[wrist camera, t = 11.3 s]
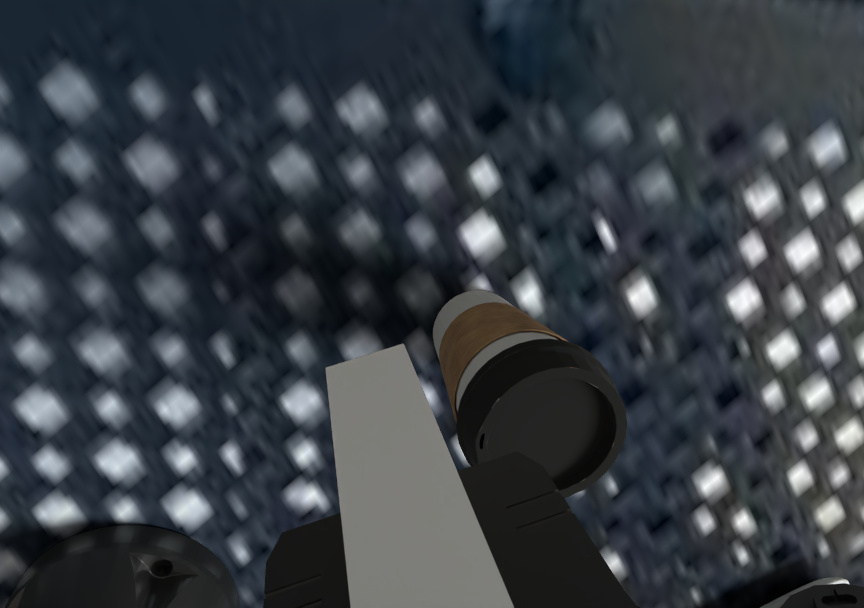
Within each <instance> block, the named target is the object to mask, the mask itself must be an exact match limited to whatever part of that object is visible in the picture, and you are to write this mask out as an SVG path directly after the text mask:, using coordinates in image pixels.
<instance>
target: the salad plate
mask: <svg viewBox="0 0 864 608" xmlns="http://www.w3.org/2000/svg"><path fill="white" fill-rule="evenodd" d="M842 583H846V584H849V582H848V581H847V580H846V579H843V578H823V579H819V580H816V581H813V582H811V583H809V584H806V585H804V586H802V587H800V588H798V589H795V590H793V591H791V592H789V593H787V594H785V595H783V596H781V597H779V598H777V599H775V600H773V601H772V602H770V603H768V604H766V605H764V606H762V607H760V608H780V607H781V606H782V605H783V604H784V602H785V601H786V600H787V599H788V598H789V596H790V595H792V594H795V593H797V592H800V591H802V590H804V589H807V588H809V587H811V586H814V585H826V584H842Z"/></svg>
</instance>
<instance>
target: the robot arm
mask: <svg viewBox="0 0 864 608" xmlns="http://www.w3.org/2000/svg"><path fill="white" fill-rule="evenodd" d="M326 377H327V387H328V396H329V406H330V415H331V425H332V435H333V444H334V454H335V463H336V473H337V482H338V492H339V502H340V511H341V513H339V514H336V515H333V516H330V517H327V518H324V519H321V520H318V521H315V522H312V523H309V524H306V525H303V526H301V527H298V528H295V529H292V530H289V531H286V532H283V533H282V534H281V536H280V538H279V540H278V542H277V544H276V545H275V547H274V549H273V551H272V553H271V555H270V557H269V559H268V560H267V562H266V575H265V591H264V593H265V598H266V599H264V607H263V608H640V607H638V606H637V605H636V604H635V603H634V602H633V601H632V599H631V598H630V597H629V596H628V595H627V594H626V592H625V591H624V590H623V588H622V586H621V585H620V583H619V582H618V580H617V579H616V577H615V576H614V574H613V573H612V571H611V570H610V568H609V567H608V565H607V563H606V562H605V560H604V559H603V557H602V556H601V554H600V553H599V551H598V550H597V548H596V547H595V545H594V543H593V542H592V540H591V539H590V537H589V536H588V534H587V533H586V531H585V530H584V528H583V527H582V525H581V524H580V522H579V520H578V519H577V517H576V516H575V514H573V513H572V511H571V508H570V507H569V505H568V504H567V502H566V500H565V499H564V497H563V496H562V494H560V493H559V491H558V488H557V487H556V485H555V484H554V482H553V481H552V479H551V477H550V476H549V474H548V473H547V471H546V470H545V468H544V467H543V466H542V465H540V464H539V463H537V462H535V461H533V460H532V459H530V458H528V457H526V456H525V455H523V454H521V453H519V452H518V451H516V452H513V453H510V454H507V455H504V456H501V457H498V458H495V459H492V460H489V461H486V462H483V463H480V464H477V465H474V466H471V467H469V468H466V469H463V470H460V471H457V470H456V468H455V465H454V463H453V460H452V458H451V456H450V453H449V451H448V448H447V446H446V444H445V441H444V439H443V436H442V434H441V432H440V429H439V427H438V425H437V422H436V420H435V417H434V415H433V413H432V410H431V408H430V405H429V403H428V401H427V398H426V396H425V393H424V391H423V389H422V386H421V384H420V382H419V379H418V377H417V374H416V372H415V370H414V367H413V365H412V362H411V360H410V358H409V355H408V353H407V350H406V348H405V346H404V343H403V344H400V345H397V346H394V347H391V348H387V349H384V350H381V351H378V352H375V353H371V354H368V355H365V356H362V357H359V358H355V359H352V360H349V361H346V362H343V363H339V364H336V365H333V366H330V367H326ZM5 608H239V597H238V592H237V588H236V585H235V583H234V580H233V578H232V576H231V574H230V573H229V571H228V570H227V568H226V567H225V566H224V564H223V563H222V562H221V561H220V560H219V559H218V558H217V557H216V556H215V555H214V554H213V553H212V552H211V551H209V550H208V549H207V548H205V547H204V546H203V545H201V544H199V543H198V542H196V541H194V540H192V539H190V538H188V537H186V536H183V535H181V534H178V533H175V532H172V531H169V530H165V529H161V528H156V527H149V526H139V525H122V526H110V527H104V528H99V529H94V530H90V531H87V532H83V533H81V534H78V535H75V536H73V537H70V538H68V539H66V540H64V541H62V542H60V543H58V544H57V545H55V546H53V547H52V548H50V549H49V550H47V551H46V552H45V553H43V554H42V555H41V556H40V557H39V558H37V559H36V560H35V561H34V562H33V563H32V564H31V566H30V567H29V568H28V569H27V570H26V572H25V573H24V574H23V576H22V577H21V579H20V581H19V582H18V584H17V586H16V588H15V589H14V591H13V593H12V595H11V597H10V598H9V600H8V602H7V604H6V606H5ZM780 608H864V587H861V586H856V585H851V584H846V583H842V584H826V585H814V586H811V587H809V588H807V589H804V590H802V591H800V592H797V593H795V594H792V595H790V596H789V598H788V599H787V600H786V601H785V602H784V604H783V605H782V606H781V607H780Z"/></svg>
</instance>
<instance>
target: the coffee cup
mask: <svg viewBox="0 0 864 608" xmlns="http://www.w3.org/2000/svg"><path fill="white" fill-rule="evenodd" d="M433 340H434V346H435V349H436V352H437V355H438V358H439V361H440V365H441V370H442V373H443V377H444V380H445V384H446V388H447V391H448V395H449V399H450V402H451V406H452V410H453V413H454V417H455V420H456V422H457V424H456V430H457V435H458V440H459V444H460V447H461V449H462V451H463V453H464V456H465V457H466V460H467V462H468V463H469V464H470V466H474V465H477V464H480V463H483V462H486V461H489V460H492V459H495V458H498V457H501V456H504V455H507V454H510V453H513V452H516V451H518V452H519V453H521V454H523V455H525V456H526V457H528V458H530V459H532V460H533V461H535V462H537V463H539V464H540V465H542V466H543V467H544V468H545V470H546V471H547V473H548V474H549V476H550V477H551V479H552V481H553V482H554V484H555V485H556V487H557V488H558V491H559V493H560V494H562V496H563V497H564V498H566V497H569V496H571V495H574V494H576V493H578V492H580V491H582V490H584V489H585V488H587V487H589V486H590V485H592V484H593V483H595V482H596V481H597V480H598V479H599V478H600V477H601V476H603V475H604V474H605V473H606V472H607V470H608V469H609V468H610V467H611V465H612V464H613V463H614V462H615V460H616V458H617V456H618V455H619V453H620V451H621V449H622V446H623V443H624V440H625V437H626V429H627V418H626V411H625V408H624V405H623V402H622V399H621V397H620V396H619V394H618V393H617V390H616V387H615V384H614V381H613V380H612V378H611V376H610V375H609V373H608V371H607V370H606V369H605V368H604V367H603V366H602V364H601V363H600V362H599V361H598V360H597V359H596V358H595V357H594V356H593V355H592V354H591V353H590V352H588V351H587V350H585V349H583V348H582V347H580V346H578V345H576V344H573V343H570V342H568V341H567V340H565V339H563V338H562V337H560V336H559V335H557V334H556V333H554V332H553V331H551V330H550V329H548V328H547V327H545V326H544V325H542V324H540V323H539V322H537V321H536V320H534V319H533V318H531V317H530V316H528V315H527V314H525V313H524V312H522V311H520V310H519V309H517V308H516V307H514V306H513V305H511V304H510V303H509V302H507V301H506V300H504V299H503V298H501V297H500V296H498V295H497V294H494V293H491V292H489V291H483V290H473V291H468V292H464V293H462V294H460V295H457V296H455V297H454V298H453V299H451V300H450V301H448V302H447V303H446V304H445V305H444V306H443V308H442V309H441V311H440V312H439V313H438V316H437V318H436V320H435V323H434V327H433Z"/></svg>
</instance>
